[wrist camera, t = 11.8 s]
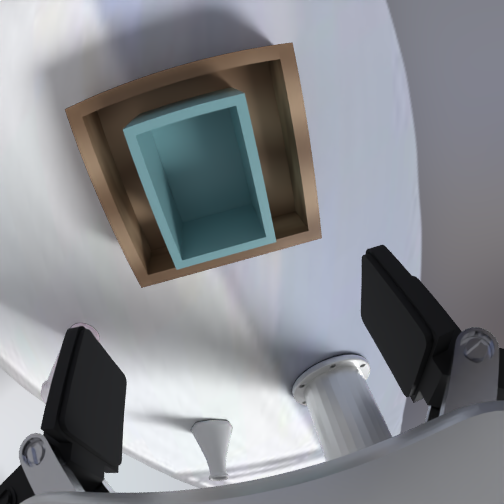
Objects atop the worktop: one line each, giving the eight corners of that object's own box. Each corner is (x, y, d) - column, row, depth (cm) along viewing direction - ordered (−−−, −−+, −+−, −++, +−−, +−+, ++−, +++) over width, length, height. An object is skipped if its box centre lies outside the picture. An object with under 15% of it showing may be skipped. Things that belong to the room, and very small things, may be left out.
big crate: (304, 213, 29) (321, 238, 25) (146, 256, 28) (141, 287, 25) (274, 46, 20) (292, 42, 17) (85, 101, 20) (64, 109, 16)
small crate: (258, 204, 27) (276, 242, 22) (178, 227, 26) (176, 269, 21) (231, 87, 21) (244, 93, 16) (139, 114, 21) (122, 129, 16)
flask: (231, 434, 51) (239, 482, 43) (191, 436, 50) (196, 485, 41) (234, 416, 47) (244, 470, 39) (189, 419, 46) (195, 473, 38)
